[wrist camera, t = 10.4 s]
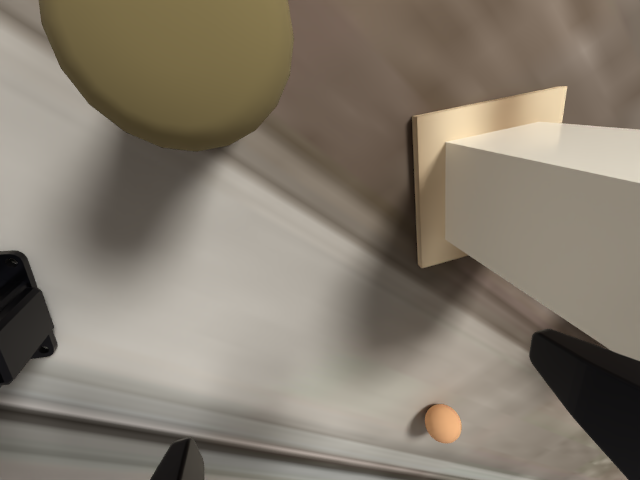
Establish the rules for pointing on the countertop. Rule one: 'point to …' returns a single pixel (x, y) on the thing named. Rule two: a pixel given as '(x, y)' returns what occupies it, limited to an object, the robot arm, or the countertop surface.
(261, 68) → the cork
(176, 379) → the countertop surface
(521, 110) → the coaster
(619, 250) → the knobbed white block
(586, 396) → the robot arm
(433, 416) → the ball
